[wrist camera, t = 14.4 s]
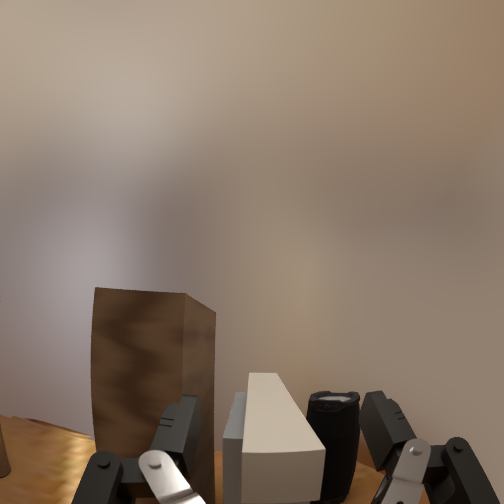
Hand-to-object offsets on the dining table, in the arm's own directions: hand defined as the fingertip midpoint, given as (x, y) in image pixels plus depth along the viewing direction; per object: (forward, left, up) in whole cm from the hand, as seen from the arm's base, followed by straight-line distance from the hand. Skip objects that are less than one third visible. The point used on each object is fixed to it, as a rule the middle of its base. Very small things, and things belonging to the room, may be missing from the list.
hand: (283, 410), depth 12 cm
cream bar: (0, +11, -4) cm, 12 cm away
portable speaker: (+11, +28, -26) cm, 40 cm away
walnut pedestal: (-11, +16, -25) cm, 32 cm away
